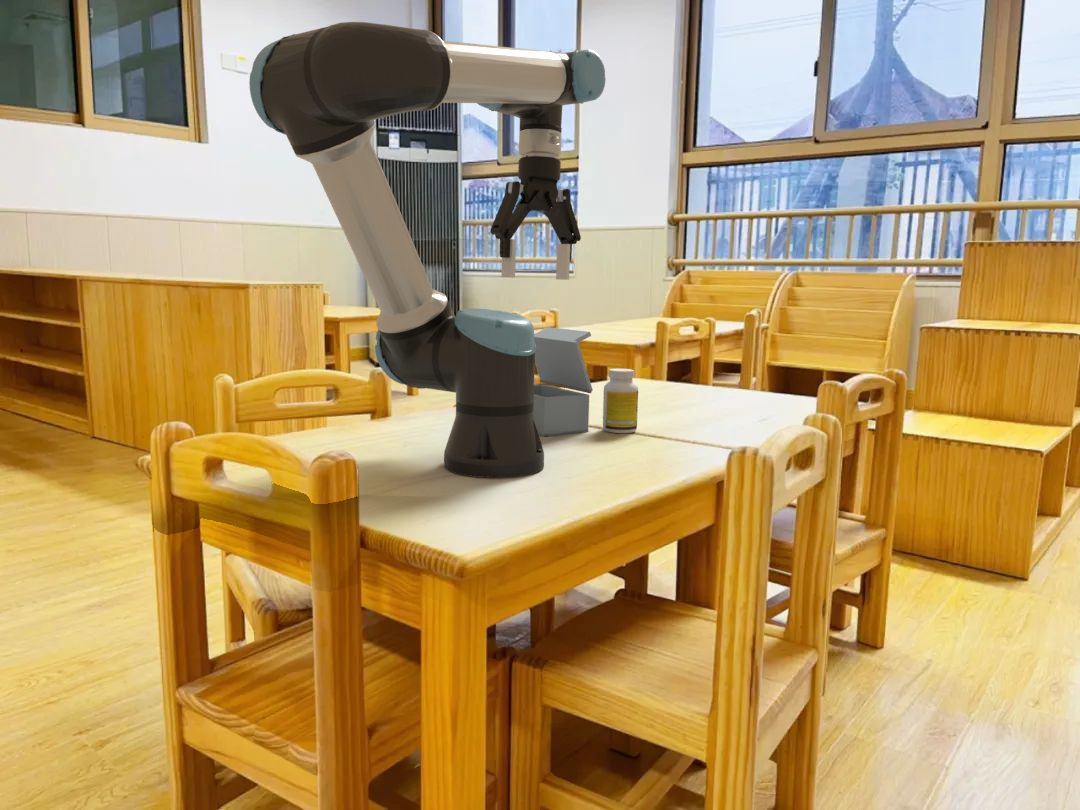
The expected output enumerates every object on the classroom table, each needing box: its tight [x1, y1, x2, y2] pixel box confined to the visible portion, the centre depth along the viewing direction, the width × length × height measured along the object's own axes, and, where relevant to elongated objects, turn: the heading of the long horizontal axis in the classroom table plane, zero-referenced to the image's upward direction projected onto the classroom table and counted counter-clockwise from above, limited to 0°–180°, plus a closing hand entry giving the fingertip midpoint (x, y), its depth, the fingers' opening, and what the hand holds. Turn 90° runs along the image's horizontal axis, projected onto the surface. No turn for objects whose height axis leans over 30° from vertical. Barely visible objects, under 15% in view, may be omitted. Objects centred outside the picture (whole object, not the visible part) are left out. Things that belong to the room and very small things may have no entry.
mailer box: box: [533, 383, 590, 438], centre depth 155 cm, size 10×16×7 cm, turn 34°
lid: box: [534, 326, 593, 394], centre depth 156 cm, size 10×17×5 cm
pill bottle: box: [602, 368, 639, 434], centre depth 152 cm, size 6×6×12 cm
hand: (536, 278), depth 147 cm, fingers open, 13 cm apart
